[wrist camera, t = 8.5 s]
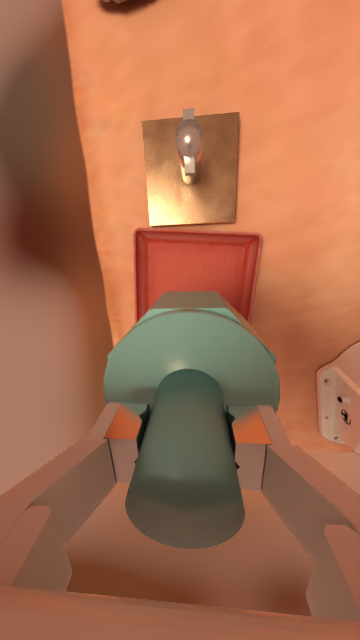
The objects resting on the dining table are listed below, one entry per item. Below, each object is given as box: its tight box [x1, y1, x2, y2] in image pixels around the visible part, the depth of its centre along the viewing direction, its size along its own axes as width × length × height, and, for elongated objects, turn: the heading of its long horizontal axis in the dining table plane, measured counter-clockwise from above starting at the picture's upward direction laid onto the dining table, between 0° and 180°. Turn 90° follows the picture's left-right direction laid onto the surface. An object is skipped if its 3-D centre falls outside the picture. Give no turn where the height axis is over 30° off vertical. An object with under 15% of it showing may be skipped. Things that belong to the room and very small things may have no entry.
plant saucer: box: [133, 228, 262, 324], centre depth 32 cm, size 18×18×3 cm
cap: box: [104, 291, 280, 549], centre depth 9 cm, size 7×7×9 cm
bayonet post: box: [142, 108, 239, 227], centre depth 23 cm, size 12×12×10 cm
